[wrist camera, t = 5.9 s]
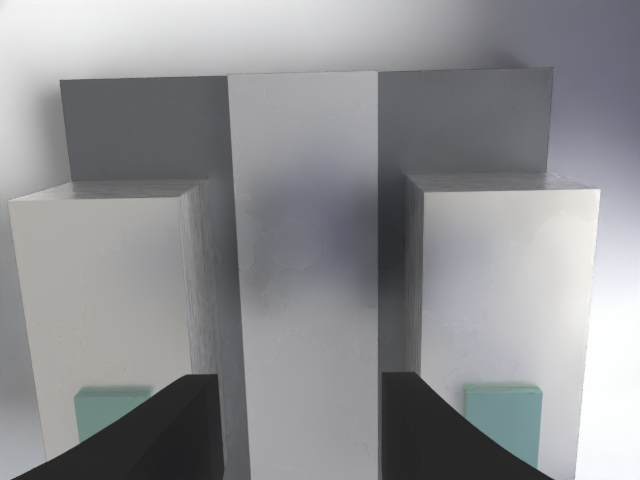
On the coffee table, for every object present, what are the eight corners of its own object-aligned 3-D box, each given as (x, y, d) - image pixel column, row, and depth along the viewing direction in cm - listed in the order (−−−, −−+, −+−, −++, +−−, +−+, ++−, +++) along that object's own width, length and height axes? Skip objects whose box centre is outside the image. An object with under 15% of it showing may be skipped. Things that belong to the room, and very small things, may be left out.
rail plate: (506, 496, 18) (565, 630, 14) (132, 498, 19) (66, 630, 14) (532, 70, 15) (619, 56, 11) (85, 82, 16) (-20, 72, 11)
